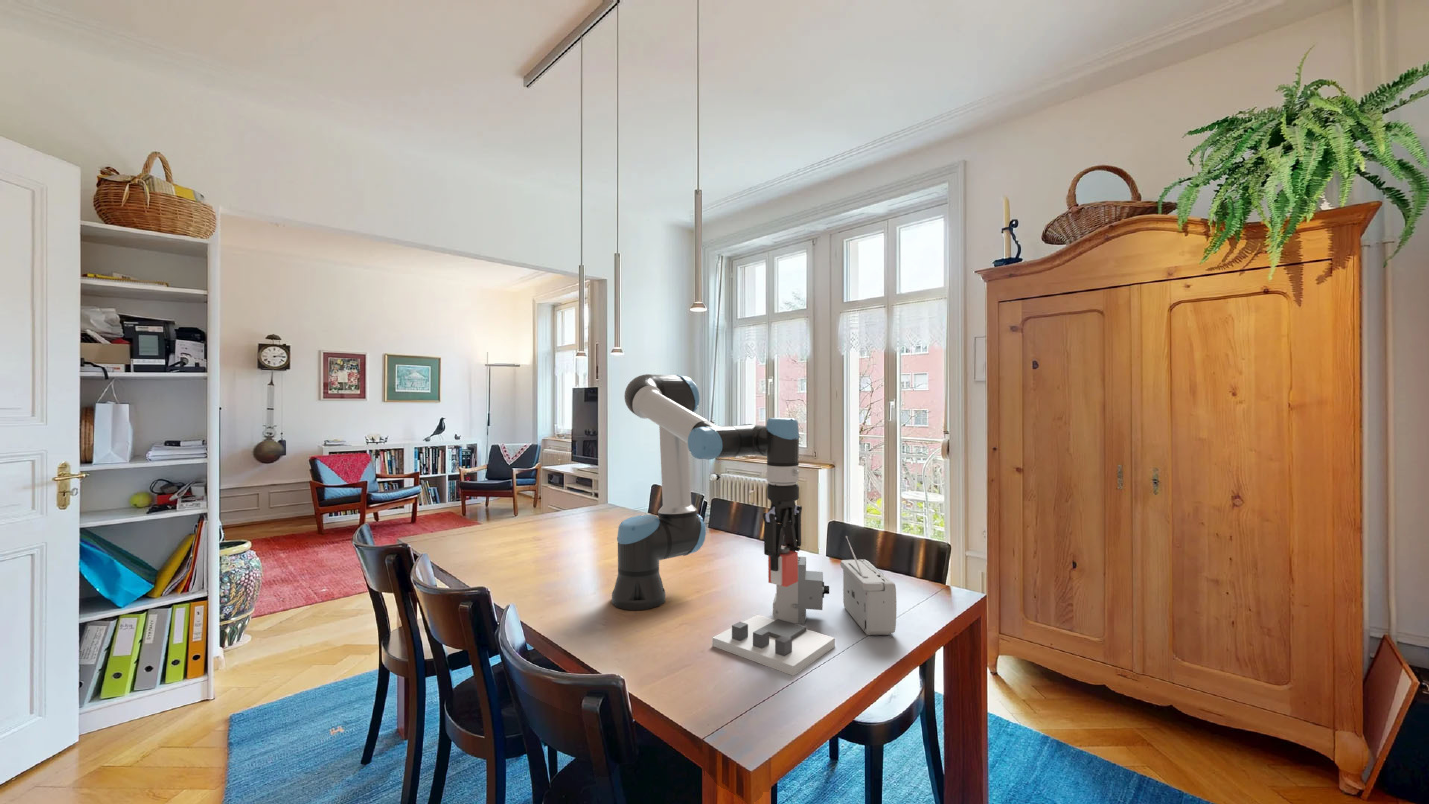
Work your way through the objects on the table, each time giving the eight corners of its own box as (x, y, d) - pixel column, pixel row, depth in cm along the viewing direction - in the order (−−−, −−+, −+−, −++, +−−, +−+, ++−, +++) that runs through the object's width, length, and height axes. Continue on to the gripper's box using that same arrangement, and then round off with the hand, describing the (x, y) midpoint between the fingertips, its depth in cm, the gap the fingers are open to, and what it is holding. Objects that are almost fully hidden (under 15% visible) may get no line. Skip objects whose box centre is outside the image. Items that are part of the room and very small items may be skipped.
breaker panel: (712, 646, 132) (712, 624, 132) (757, 622, 145) (757, 602, 145) (793, 675, 117) (793, 651, 117) (834, 646, 131) (834, 624, 131)
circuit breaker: (829, 625, 143) (829, 566, 143) (772, 621, 146) (772, 563, 146) (829, 614, 151) (829, 558, 151) (775, 610, 154) (775, 555, 154)
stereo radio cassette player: (897, 637, 136) (897, 554, 136) (864, 638, 136) (864, 555, 136) (868, 605, 157) (868, 533, 157) (839, 606, 157) (839, 534, 156)
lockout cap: (768, 582, 134) (768, 548, 134) (780, 577, 138) (780, 544, 138) (786, 587, 131) (786, 552, 131) (797, 581, 135) (797, 548, 135)
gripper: (774, 489, 125) (775, 594, 125) (816, 480, 139) (816, 574, 139) (747, 486, 130) (747, 587, 130) (789, 477, 143) (790, 569, 144)
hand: (783, 580), depth 134 cm, fingers closed on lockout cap, 5 cm apart
